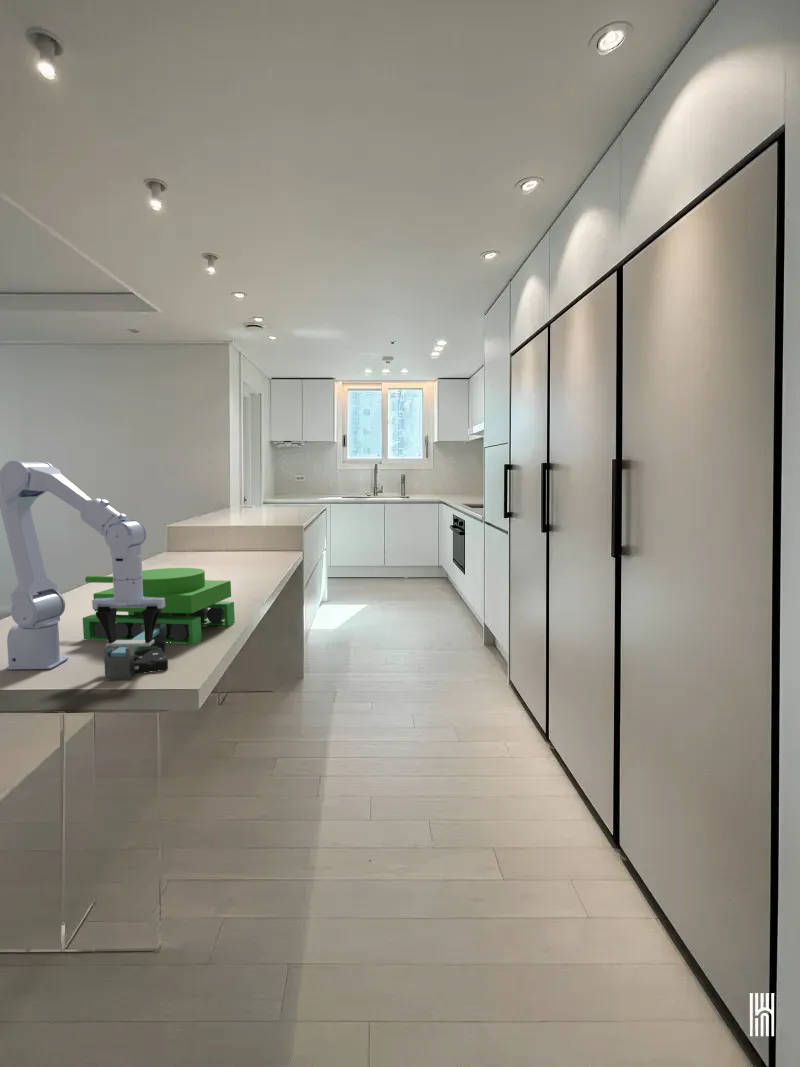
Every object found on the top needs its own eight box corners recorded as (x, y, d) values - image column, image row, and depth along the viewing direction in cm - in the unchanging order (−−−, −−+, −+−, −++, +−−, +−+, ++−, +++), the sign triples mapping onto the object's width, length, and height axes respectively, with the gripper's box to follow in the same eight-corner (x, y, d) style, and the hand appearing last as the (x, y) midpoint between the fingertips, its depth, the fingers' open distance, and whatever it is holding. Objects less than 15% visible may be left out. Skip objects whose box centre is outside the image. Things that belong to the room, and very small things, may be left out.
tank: (122, 621, 191) (118, 564, 189) (235, 623, 184) (233, 565, 183) (64, 642, 167) (60, 578, 166) (192, 646, 161) (189, 580, 159)
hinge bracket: (142, 652, 154) (141, 624, 153) (144, 650, 156) (143, 623, 155) (164, 652, 154) (163, 624, 153) (167, 650, 156) (166, 622, 155)
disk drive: (169, 672, 141) (159, 654, 154) (169, 659, 140) (159, 643, 154) (116, 679, 136) (110, 660, 149) (116, 666, 136) (110, 648, 149)
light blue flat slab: (95, 657, 134) (95, 650, 134) (135, 632, 155) (135, 625, 155) (140, 657, 134) (140, 649, 134) (174, 632, 155) (174, 625, 155)
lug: (104, 680, 134) (103, 648, 133) (109, 676, 136) (108, 645, 135) (130, 679, 134) (129, 648, 133) (135, 676, 136) (134, 645, 136)
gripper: (84, 581, 135) (87, 647, 136) (155, 581, 135) (158, 646, 136) (99, 576, 142) (102, 638, 143) (167, 575, 142) (169, 637, 143)
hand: (130, 641), depth 140 cm, fingers open, 7 cm apart
